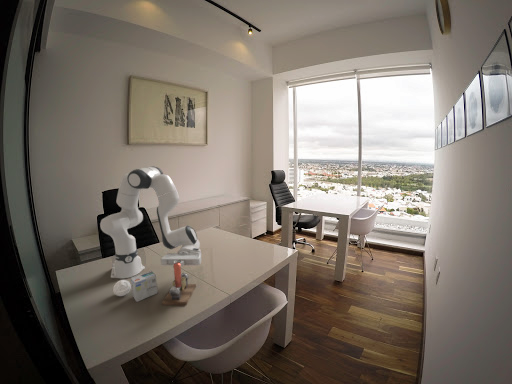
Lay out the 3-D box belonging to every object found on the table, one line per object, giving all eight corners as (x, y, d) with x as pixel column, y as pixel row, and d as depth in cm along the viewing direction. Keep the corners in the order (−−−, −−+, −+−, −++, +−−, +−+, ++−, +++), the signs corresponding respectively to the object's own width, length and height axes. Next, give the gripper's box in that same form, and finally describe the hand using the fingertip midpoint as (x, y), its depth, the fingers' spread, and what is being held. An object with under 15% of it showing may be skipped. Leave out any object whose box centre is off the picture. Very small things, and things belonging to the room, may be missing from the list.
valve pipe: (180, 284, 126) (179, 272, 125) (188, 284, 126) (188, 272, 125) (170, 300, 112) (169, 287, 111) (179, 300, 112) (178, 287, 111)
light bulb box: (153, 288, 126) (151, 270, 124) (158, 293, 121) (156, 274, 119) (132, 296, 118) (130, 277, 117) (136, 302, 114) (134, 282, 112)
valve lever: (182, 277, 119) (180, 253, 117) (182, 290, 107) (180, 264, 105) (176, 278, 118) (174, 254, 116) (175, 291, 106) (173, 265, 104)
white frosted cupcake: (114, 301, 115) (113, 286, 114) (113, 294, 121) (111, 280, 120) (132, 295, 119) (131, 281, 118) (130, 288, 125) (129, 275, 124)
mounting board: (174, 286, 127) (174, 283, 127) (196, 286, 127) (195, 284, 127) (162, 304, 111) (161, 302, 111) (186, 305, 111) (186, 302, 111)
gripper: (166, 249, 126) (154, 260, 112) (203, 249, 125) (196, 260, 111) (167, 260, 127) (155, 272, 113) (204, 260, 126) (196, 272, 112)
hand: (176, 266), depth 112 cm, fingers closed
